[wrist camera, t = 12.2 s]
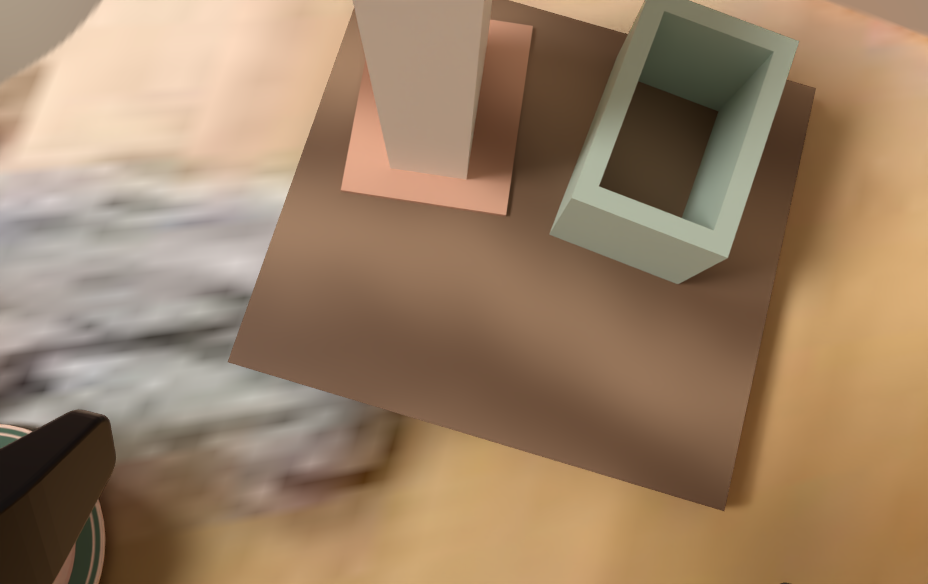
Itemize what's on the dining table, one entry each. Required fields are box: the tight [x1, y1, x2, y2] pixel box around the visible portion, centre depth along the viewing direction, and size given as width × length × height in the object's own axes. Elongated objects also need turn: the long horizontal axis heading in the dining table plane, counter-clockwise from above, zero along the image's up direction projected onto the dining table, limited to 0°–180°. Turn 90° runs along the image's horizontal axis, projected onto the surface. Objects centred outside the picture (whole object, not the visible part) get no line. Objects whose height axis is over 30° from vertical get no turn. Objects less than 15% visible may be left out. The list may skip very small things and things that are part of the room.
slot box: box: [549, 0, 799, 284], centre depth 21 cm, size 7×5×4 cm, turn 159°
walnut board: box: [228, 0, 816, 511], centre depth 23 cm, size 15×16×1 cm
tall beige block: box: [353, 0, 492, 179], centre depth 17 cm, size 5×3×12 cm, turn 172°
